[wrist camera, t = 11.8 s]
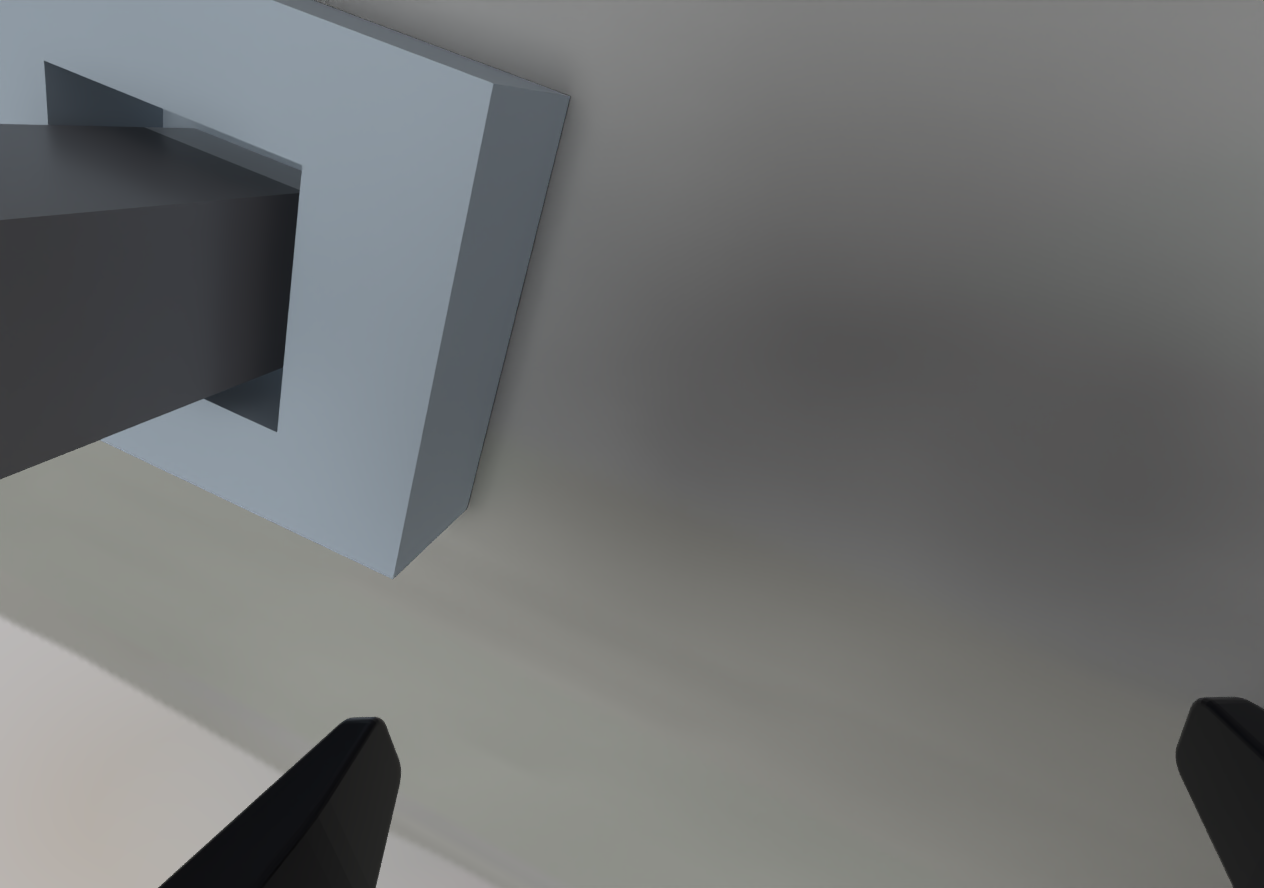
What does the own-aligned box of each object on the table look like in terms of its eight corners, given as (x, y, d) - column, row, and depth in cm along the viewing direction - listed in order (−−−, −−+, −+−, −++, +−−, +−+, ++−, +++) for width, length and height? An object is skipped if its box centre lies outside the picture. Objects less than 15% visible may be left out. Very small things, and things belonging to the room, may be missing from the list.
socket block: (570, 96, 16) (493, 83, 13) (467, 508, 22) (392, 579, 18) (74, -90, 18) (-115, -146, 14) (92, 338, 23) (-43, 372, 20)
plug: (346, 188, 18) (-486, 264, 7) (326, 349, 20) (-335, 611, 9) (195, 128, 18) (-806, 105, 7) (191, 291, 20) (-596, 468, 9)
